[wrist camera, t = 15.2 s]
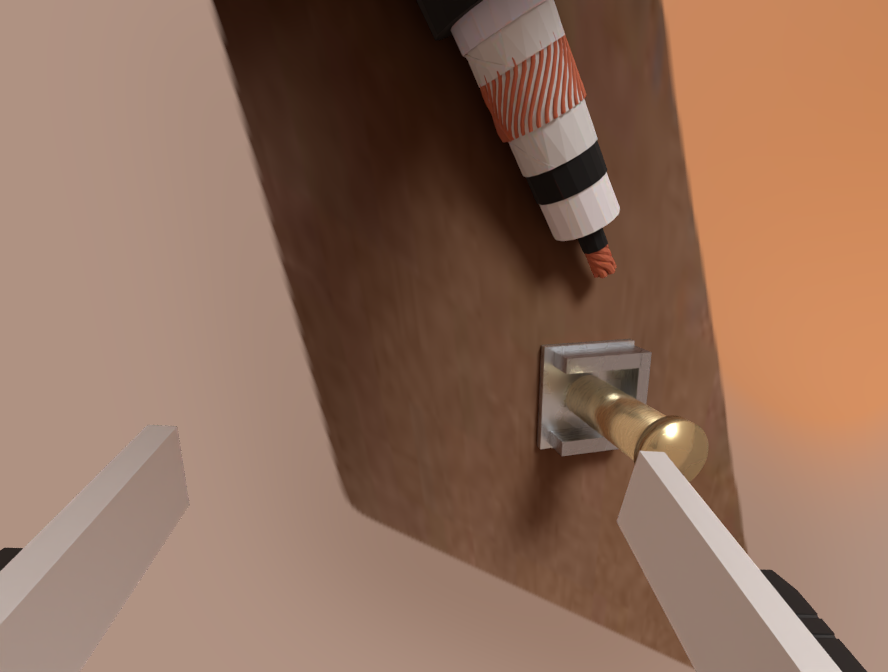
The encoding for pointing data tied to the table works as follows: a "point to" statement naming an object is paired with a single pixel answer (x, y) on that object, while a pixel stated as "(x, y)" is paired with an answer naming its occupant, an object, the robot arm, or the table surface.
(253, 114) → the table surface
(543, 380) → the keeper bracket
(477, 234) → the table surface
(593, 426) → the end pin
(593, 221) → the cable
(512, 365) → the table surface
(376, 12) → the table surface
